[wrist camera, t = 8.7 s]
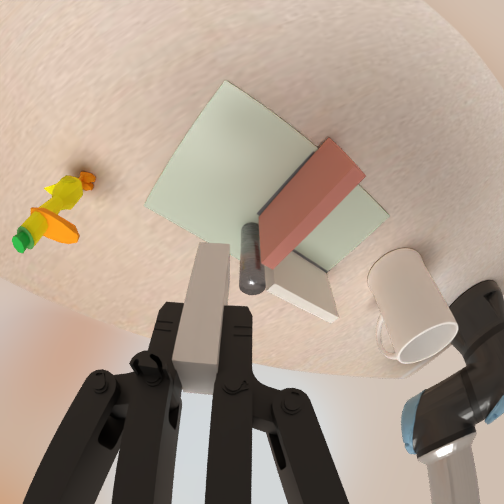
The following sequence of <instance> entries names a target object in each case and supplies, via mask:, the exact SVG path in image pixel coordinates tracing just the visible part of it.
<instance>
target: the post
mask: <svg viewBox="0 0 504 504" xmlns="http://www.w3.org/2000/svg"><path fill="white" fill-rule="evenodd" d="M239 287H240V290H241V291H242V292H243V293H245V294H248V295H257V294H260V293H262V292H263V291H264V290H265V288H266V280H265V266H264V265H263V264H261V252H260V235H259V224H257V223H254V222H250V223H246V224H245V225H244V226H243V227H242V229H241V248H240V280H239Z"/></svg>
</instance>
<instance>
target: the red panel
mask: <svg viewBox="0 0 504 504" xmlns="http://www.w3.org/2000/svg"><path fill="white" fill-rule="evenodd" d="M365 177H366V175H365V174H364V173H363V172H362V171H361V169H360V168H359V167H358V166H357V165H356V164H355V163H354V162H353V161H352V160H351V158H350V157H349V156H348V155H347V154H346V153H345V152H344V151H343V150H342V149H341V148H340V147H339V146H338V145H337V144H336V143H335V142H334V141H332V140H331V139H330V138H328V139H327V140H326V141H325V142H324V143H323V144H322V145H321V147H320V148H319V149H318V150H317V151H316V152H315V153H314V154H313V155H312V157H311V158H310V159H309V160H308V161H307V162H306V163H305V164H304V166H303V167H302V168H301V169H300V170H299V171H298V172H297V174H296V175H295V176H294V177H293V178H292V179H291V180H290V182H289V183H288V184H287V185H286V186H285V187H284V188H283V189H282V191H281V192H280V193H279V194H278V195H277V196H276V198H275V199H274V200H273V201H272V202H271V203H270V204H269V206H268V207H267V208H266V209H265V210H264V211H263V212H262V214H261V215H260V216H259V217H258V218H259V235H260V252H261V264H263V265H265V266H267V267H269V268H271V269H272V270H273V269H274V268H275V267H276V266H277V265H278V264H279V263H280V262H281V261H282V260H283V259H284V258H285V257H286V256H287V255H288V254H289V253H290V252H291V251H293V250H294V249H295V248H296V247H297V246H298V245H299V244H300V243H301V242H302V241H303V240H304V239H305V238H306V237H307V236H308V235H309V234H310V233H311V232H312V231H313V230H314V229H315V228H316V227H317V226H318V225H319V224H320V223H321V222H322V221H323V220H324V219H325V218H326V217H327V216H328V215H329V214H330V213H331V212H332V211H333V209H334V208H335V207H336V206H337V205H338V204H339V203H340V202H341V201H342V200H343V199H344V198H345V197H346V196H347V195H348V194H349V193H350V192H351V191H352V190H353V189H354V188H355V187H356V186H357V185H358V184H359V183H360V182H361V181H362V180H363V179H364V178H365Z"/></svg>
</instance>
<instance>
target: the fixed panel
mask: <svg viewBox="0 0 504 504" xmlns="http://www.w3.org/2000/svg"><path fill="white" fill-rule="evenodd" d="M264 266H265V265H264ZM265 280H266V291H267V292H269V293H271V294H273V295H275V296H277V297H279V298H281V299H283V300H285V301H287V302H289V303H291V304H293V305H294V306H296V307H298V308H300V309H302V310H304V311H306V312H308V313H310V314H312V315H314V316H316V317H318V318H320V319H322V320H325V321H327V322H329V323H332V322H334V321H335V320H337V319H338V318H339V315H338V312H337V308H336V304H335V301H334V297H333V294H332V290H331V287H330V283H329V280H328V276H327V273H326V272H324V271H323V270H321V269H320V268H318V267H316V266H315V265H313V264H312V263H310V262H309V261H307V260H306V259H304V258H302V257H301V256H299V255H298V254H296V253H295V252H293V251H291V252H290V253H289V254H288V255H287V256H286V257H285V258H284V259H283V260H282V261H281V262H280V263H279V264H278V265H277V266H276V267H275V268H274V269H273V270H272V269H271V268H269V267H267V266H265Z"/></svg>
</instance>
